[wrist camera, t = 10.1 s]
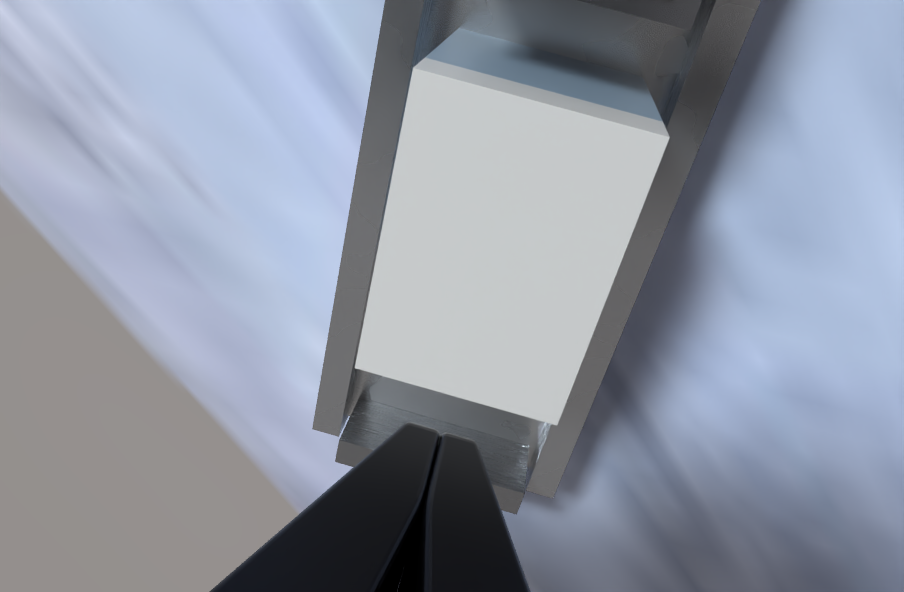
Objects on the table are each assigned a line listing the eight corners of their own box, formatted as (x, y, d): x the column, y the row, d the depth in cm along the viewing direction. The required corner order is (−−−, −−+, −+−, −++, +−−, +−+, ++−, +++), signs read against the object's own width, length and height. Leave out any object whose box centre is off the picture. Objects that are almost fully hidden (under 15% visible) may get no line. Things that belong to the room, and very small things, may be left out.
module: (643, 77, 15) (669, 137, 11) (561, 306, 18) (557, 425, 14) (458, 27, 16) (413, 68, 11) (407, 263, 18) (354, 367, 14)
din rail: (821, -190, 14) (953, -252, 9) (561, 450, 22) (556, 596, 17) (448, -287, 14) (380, -399, 9) (329, 383, 22) (261, 509, 17)
